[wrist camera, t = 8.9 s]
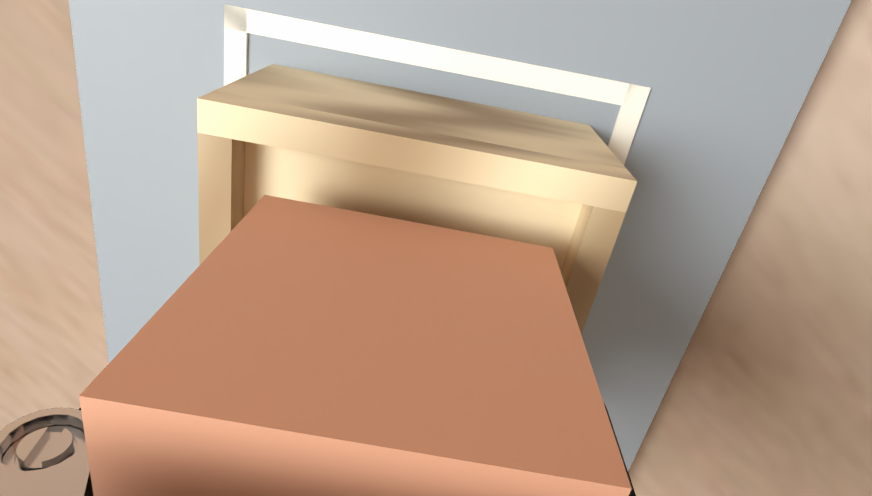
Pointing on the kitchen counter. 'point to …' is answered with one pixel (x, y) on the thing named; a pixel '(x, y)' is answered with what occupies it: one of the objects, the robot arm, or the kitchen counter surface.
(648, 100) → the board
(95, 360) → the kitchen counter surface
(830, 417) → the kitchen counter surface
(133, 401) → the terracotta cube
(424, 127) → the maple base
